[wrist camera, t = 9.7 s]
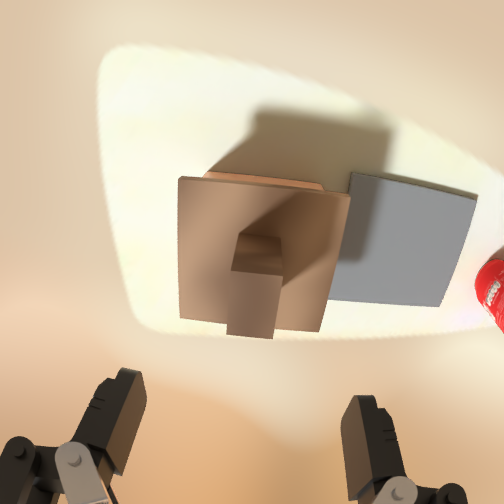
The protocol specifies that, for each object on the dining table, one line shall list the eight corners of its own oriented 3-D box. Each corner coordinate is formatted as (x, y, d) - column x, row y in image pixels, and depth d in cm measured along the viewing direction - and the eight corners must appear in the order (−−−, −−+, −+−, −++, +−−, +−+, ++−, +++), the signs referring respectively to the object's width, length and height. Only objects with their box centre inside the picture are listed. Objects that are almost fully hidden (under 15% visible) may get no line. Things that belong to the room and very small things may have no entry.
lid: (347, 193, 19) (373, 226, 14) (317, 325, 23) (326, 378, 18) (181, 176, 19) (152, 203, 14) (182, 311, 23) (163, 362, 18)
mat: (473, 198, 23) (476, 201, 22) (436, 303, 28) (439, 307, 27) (351, 172, 23) (353, 174, 22) (324, 295, 28) (325, 299, 27)
